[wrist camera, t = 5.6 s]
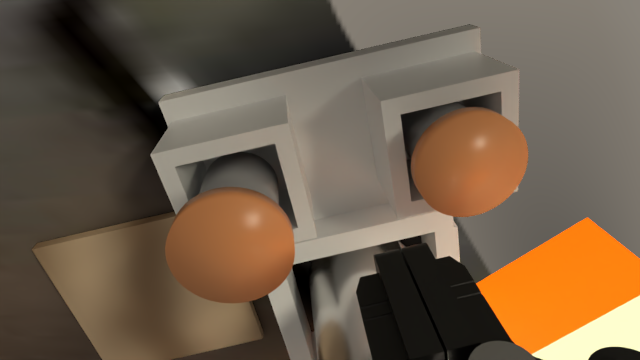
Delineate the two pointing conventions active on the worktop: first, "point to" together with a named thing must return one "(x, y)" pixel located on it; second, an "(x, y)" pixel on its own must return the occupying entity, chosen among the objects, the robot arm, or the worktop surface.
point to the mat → (139, 295)
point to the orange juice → (569, 295)
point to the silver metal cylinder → (342, 302)
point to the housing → (335, 146)
